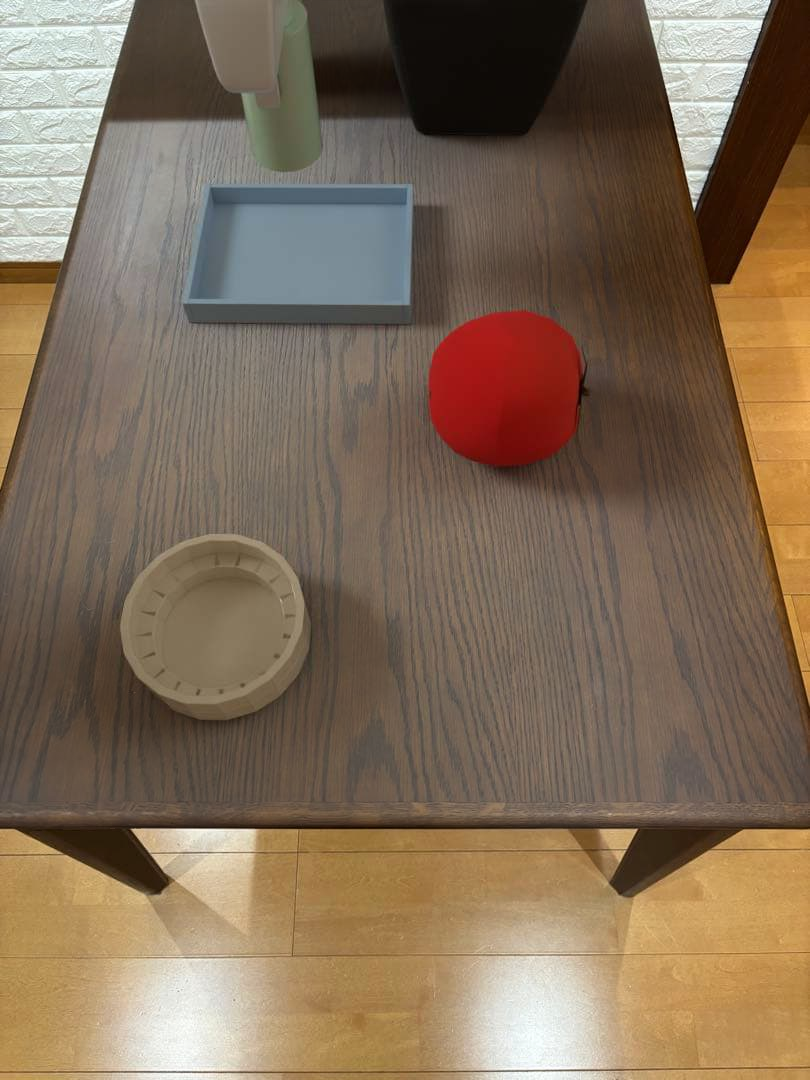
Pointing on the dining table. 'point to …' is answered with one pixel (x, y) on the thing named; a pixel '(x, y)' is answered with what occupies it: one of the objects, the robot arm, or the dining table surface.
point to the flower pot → (479, 60)
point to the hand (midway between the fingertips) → (274, 73)
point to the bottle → (288, 104)
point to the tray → (302, 254)
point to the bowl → (216, 626)
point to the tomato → (507, 388)
